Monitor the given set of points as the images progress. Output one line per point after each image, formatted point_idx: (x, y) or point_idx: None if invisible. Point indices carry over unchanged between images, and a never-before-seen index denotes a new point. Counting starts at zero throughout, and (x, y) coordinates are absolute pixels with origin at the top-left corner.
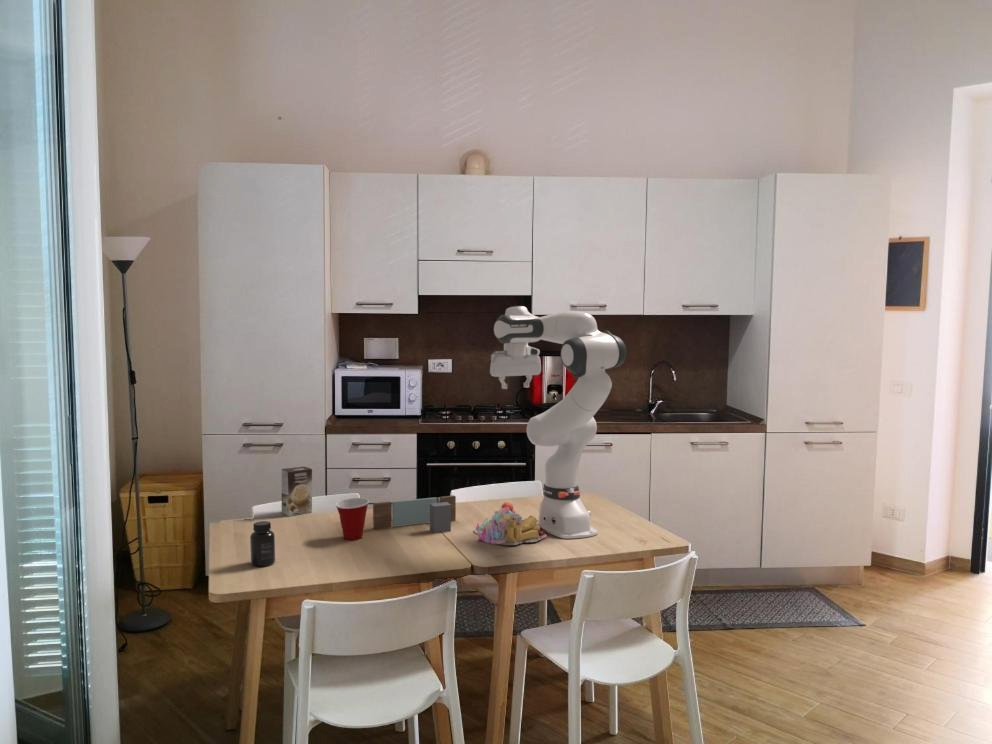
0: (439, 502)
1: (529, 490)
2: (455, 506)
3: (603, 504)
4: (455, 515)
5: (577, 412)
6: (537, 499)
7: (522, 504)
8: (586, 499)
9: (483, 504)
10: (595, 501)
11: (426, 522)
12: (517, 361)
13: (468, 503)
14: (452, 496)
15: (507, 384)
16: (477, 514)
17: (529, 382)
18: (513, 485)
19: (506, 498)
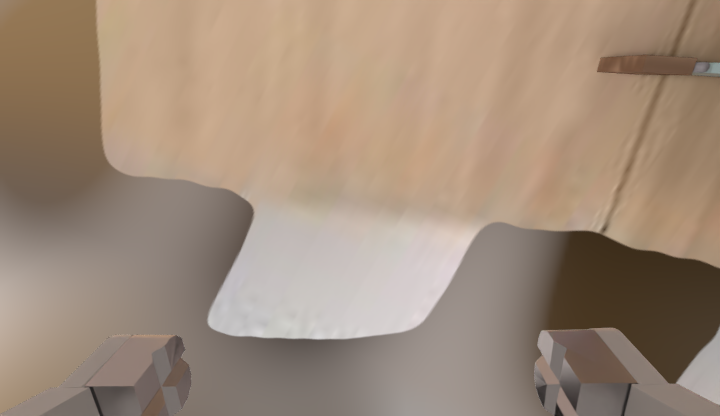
0: None
1: (252, 255)
2: (626, 56)
3: (115, 27)
4: (609, 57)
5: None
6: (274, 164)
7: (339, 134)
8: (141, 102)
9: (436, 181)
10: (125, 70)
11: None
12: None
13: (467, 207)
14: (656, 59)
15: (575, 375)
16: (508, 92)
17: (51, 390)
18: (268, 314)
19: (348, 209)
